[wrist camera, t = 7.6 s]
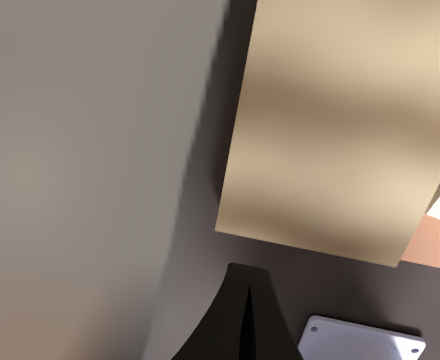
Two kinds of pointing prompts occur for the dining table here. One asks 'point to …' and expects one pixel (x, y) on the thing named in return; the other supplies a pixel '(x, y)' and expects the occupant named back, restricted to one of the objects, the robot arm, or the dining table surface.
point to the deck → (337, 127)
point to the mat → (425, 243)
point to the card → (434, 205)
